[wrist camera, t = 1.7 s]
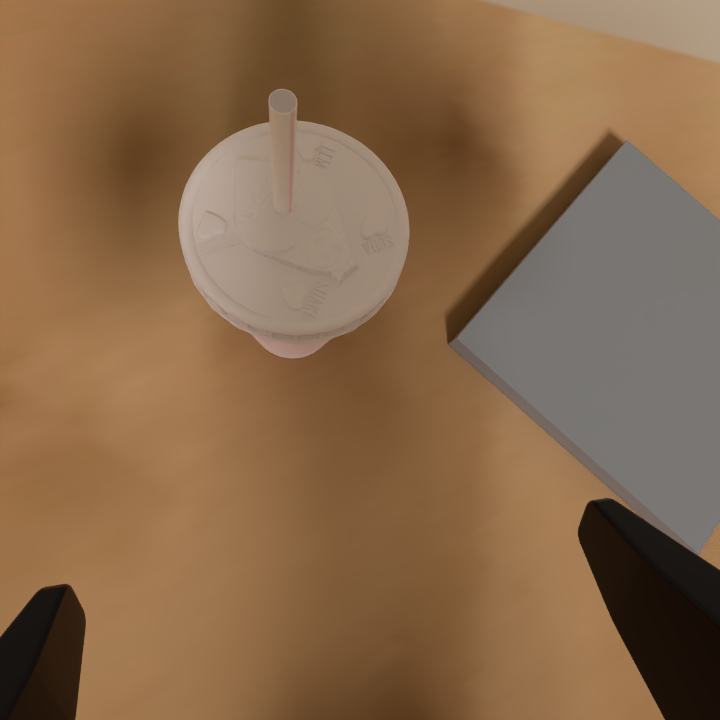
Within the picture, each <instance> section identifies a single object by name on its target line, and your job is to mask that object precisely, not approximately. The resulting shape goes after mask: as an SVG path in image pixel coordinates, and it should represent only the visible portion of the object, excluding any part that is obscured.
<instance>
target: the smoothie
mask: <svg viewBox="0 0 720 720" xmlns="http://www.w3.org/2000/svg"><path fill="white" fill-rule="evenodd" d="M268 101H269V122H266V123H262V124H257V125H254V126H251V127H248V128H245V129H243V130H241V131H238V132H236V133H234V134H233V135H231V136H229V137H227V138H226V139H224V140H223V141H221V142H220V143H218V144H217V145H216V146H215V147H214V148H212V149H211V150H210V151H209V152H208V153H207V154H206V155H205V156H204V157H203V158H202V160H201V161H200V162H199V164H198V165H197V166H196V168H195V169H194V171H193V172H192V174H191V176H190V178H189V180H188V182H187V184H186V186H185V189H184V192H183V195H182V199H181V203H180V209H179V224H178V227H179V238H180V243H181V248H182V251H183V254H184V259H185V262H186V264H187V267H188V270H189V272H190V275H191V278H192V280H193V283H194V285H195V286H196V288H197V289H198V290H199V292H200V293H201V295H202V296H203V297H204V299H205V300H206V301H207V303H208V304H209V305H210V307H211V308H212V309H213V310H214V311H216V312H217V313H218V314H220V315H221V316H222V317H223V318H225V319H226V320H227V321H228V322H230V323H231V324H232V325H233V326H235V327H236V328H238V329H241V330H243V331H245V332H248V333H250V334H251V335H252V336H253V337H254V338H255V339H256V340H257V341H258V342H259V343H260V344H261V345H262V346H263V347H264V348H265V349H266V350H267V351H269V352H271V353H272V354H274V355H277V356H279V357H283V358H291V359H293V358H302V357H306V356H308V355H311V354H313V353H314V352H316V351H317V350H319V349H320V348H321V347H322V346H323V345H325V344H326V343H327V342H328V341H329V340H330V339H333V338H335V337H338V336H341V335H343V334H346V333H349V332H352V331H353V330H355V329H356V328H357V327H359V326H360V325H362V324H363V323H364V322H366V321H367V320H369V319H370V318H371V317H373V316H374V315H375V314H376V313H377V312H378V311H379V309H380V308H381V307H382V306H383V304H384V303H385V302H386V301H387V299H388V298H389V297H390V296H391V294H392V293H393V291H394V288H395V286H396V284H397V281H398V279H399V277H400V274H401V272H402V269H403V266H404V263H405V260H406V256H407V252H408V246H409V234H410V228H409V217H408V212H407V207H406V204H405V200H404V197H403V195H402V192H401V190H400V188H399V186H398V184H397V182H396V180H395V178H394V177H393V175H392V174H391V172H390V171H389V170H388V168H387V167H386V166H385V164H384V163H383V162H382V161H381V160H380V159H379V158H378V157H377V156H376V155H375V154H374V153H373V152H372V151H371V150H370V149H369V148H367V147H366V146H365V145H363V144H362V143H361V142H359V141H357V140H356V139H354V138H353V137H351V136H349V135H347V134H345V133H343V132H341V131H339V130H336V129H334V128H331V127H328V126H325V125H321V124H317V123H312V122H306V121H297V98H296V96H295V95H294V94H293V93H292V92H291V91H289V90H286V89H277V90H275V91H273V92H272V93H271V94H270V96H269V100H268Z"/></svg>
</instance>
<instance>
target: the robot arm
mask: <svg viewBox="0 0 720 720" xmlns="http://www.w3.org/2000/svg"><path fill="white" fill-rule="evenodd" d="M578 537H579V541H580V544H581V546H582V549H583V551H584V554H585V556H586V558H587V561H588V563H589V566H590V568H591V570H592V573H593V575H594V578H595V580H596V583H597V585H598V587H599V590H600V592H601V595H602V597H603V600H604V602H605V604H606V607H607V609H608V611H609V614H610V616H611V618H612V620H613V622H614V624H615V626H616V628H617V630H618V632H619V634H620V636H621V638H622V640H623V642H624V644H625V645H626V647H627V649H628V651H629V653H630V655H631V657H632V659H633V660H634V662H635V664H636V666H637V668H638V670H639V672H640V674H641V675H642V677H643V679H644V681H645V683H646V685H647V687H648V689H649V690H650V692H651V694H652V696H653V698H654V700H655V702H656V704H657V705H658V707H659V709H660V711H661V713H662V715H663V717H664V719H665V720H720V570H719V569H717V568H716V567H714V566H713V565H711V564H710V563H708V562H707V561H705V560H704V559H702V558H701V557H699V556H698V555H696V554H695V553H693V552H692V551H690V550H689V549H687V548H686V547H684V546H683V545H681V544H680V543H678V542H677V541H675V540H674V539H672V538H671V537H669V536H668V535H666V534H665V533H663V532H662V531H660V530H659V529H657V528H656V527H654V526H653V525H651V524H650V523H648V522H647V521H645V520H644V519H642V518H641V517H639V516H638V515H636V514H635V513H633V512H632V511H630V510H629V509H627V508H626V507H624V506H623V505H621V504H620V503H618V502H617V501H615V500H613V499H610V498H604V499H598V500H592V501H590V502H589V503H588V504H587V505H586V508H585V511H584V514H583V516H582V519H581V522H580V525H579V528H578ZM85 626H86V619H85V613H84V610H83V608H82V606H81V604H80V602H79V600H78V598H77V596H76V594H75V592H74V590H73V589H72V587H71V586H70V585H68V584H61V585H55V586H48V587H44V588H42V589H40V590H39V591H38V592H37V593H36V594H35V595H34V596H33V597H32V598H31V600H30V601H29V602H28V603H27V605H26V606H25V607H24V608H23V610H22V611H21V612H20V613H19V615H18V616H17V617H16V618H15V620H14V621H13V622H12V623H11V624H10V626H9V627H8V628H7V629H6V631H5V632H4V633H3V634H2V636H1V637H0V720H75V717H76V709H77V700H78V691H79V682H80V673H81V664H82V654H83V645H84V636H85Z"/></svg>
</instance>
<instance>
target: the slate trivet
mask: <svg viewBox="0 0 720 720" xmlns="http://www.w3.org/2000/svg"><path fill="white" fill-rule="evenodd" d="M449 345H450V346H451V347H452V348H453V349H454V350H455V351H456V352H458V353H459V354H460V355H461V356H462V357H463V358H464V359H465V360H467V361H468V362H469V363H470V364H471V365H472V366H473V367H474V368H475V369H477V370H478V371H479V372H480V373H481V374H482V375H483V376H484V377H486V378H487V379H488V380H489V381H490V382H491V383H492V384H493V385H495V386H496V387H497V388H498V389H499V390H500V391H501V392H502V393H504V394H505V395H506V396H507V397H508V398H509V399H510V400H511V401H512V402H514V403H515V404H516V405H517V406H518V407H519V408H520V409H521V410H523V411H524V412H525V413H526V414H527V415H528V416H529V417H530V418H532V419H533V420H534V421H535V422H536V423H537V424H538V425H539V426H541V427H542V428H543V429H544V430H545V431H546V432H547V433H548V434H549V435H551V436H552V437H553V438H554V439H555V440H556V441H557V442H558V443H560V444H561V445H562V446H563V447H564V448H565V449H566V450H567V451H569V452H570V453H571V454H572V455H573V456H574V457H575V458H576V459H578V460H579V461H580V462H581V463H582V464H583V465H584V466H585V467H586V468H588V469H589V470H590V471H591V472H592V473H593V474H594V475H595V476H597V477H598V478H599V479H600V480H601V481H602V482H603V483H604V484H606V485H607V486H608V487H609V488H610V489H611V490H612V491H613V492H615V493H616V494H617V495H618V496H619V497H620V498H621V499H622V500H624V501H625V502H626V503H627V504H628V505H629V506H630V507H631V508H632V509H634V510H635V511H636V512H637V513H638V514H639V515H640V516H641V517H643V518H644V519H645V520H646V521H647V522H648V523H650V524H651V525H653V526H654V527H656V528H657V529H659V530H660V531H662V532H663V533H665V534H666V535H668V536H669V537H671V538H672V539H674V540H675V541H677V542H678V543H680V544H681V545H683V546H684V547H686V548H687V549H689V550H690V551H692V552H693V553H695V554H700V552H701V551H702V549H703V547H704V546H705V544H706V543H707V541H708V539H709V538H710V536H711V535H712V533H713V531H714V530H715V528H716V527H717V525H718V523H719V522H720V220H719V219H718V218H717V217H715V216H714V215H713V214H712V213H711V212H710V211H709V210H707V209H706V208H705V207H704V206H703V205H702V204H700V203H699V202H698V201H697V200H696V199H695V198H694V197H692V196H691V195H690V194H689V193H688V192H687V191H685V190H684V189H683V188H682V187H681V186H680V185H679V184H677V183H676V182H675V181H674V180H673V179H672V178H670V177H669V176H668V175H667V174H666V173H665V172H663V171H662V170H661V169H660V168H659V167H658V166H657V165H655V164H654V163H653V162H652V161H651V160H650V159H648V158H647V157H646V156H645V155H644V154H643V153H642V152H640V151H639V150H638V149H637V148H636V147H635V146H633V145H632V144H631V143H630V142H629V141H628V140H627V141H626V142H625V143H624V144H623V145H622V146H621V147H620V148H619V149H618V150H617V151H615V152H614V153H613V154H612V156H611V157H610V158H609V159H608V160H607V161H606V163H605V164H604V165H603V166H602V167H601V168H600V169H599V171H598V172H597V173H596V174H595V175H594V176H593V178H592V179H591V180H590V181H589V182H588V183H587V184H586V186H585V187H584V188H583V189H582V190H581V191H580V193H579V194H578V195H577V196H576V197H575V198H574V199H573V201H572V202H571V203H570V204H569V205H568V206H567V208H566V209H565V210H564V211H563V212H562V213H561V214H560V216H559V217H558V218H557V219H556V220H555V221H554V223H553V224H552V225H551V226H550V227H549V228H548V229H547V231H546V232H545V233H544V234H543V235H542V236H541V238H540V239H539V240H538V241H537V242H536V243H535V245H534V246H533V247H532V248H531V249H530V250H529V251H528V253H527V254H526V255H525V256H524V257H523V258H522V260H521V261H520V262H519V263H518V264H517V265H516V266H515V268H514V269H513V270H512V271H511V272H510V273H509V275H508V276H507V277H506V278H505V279H504V280H503V281H502V283H501V284H500V285H499V286H498V287H497V288H496V290H495V291H494V292H493V293H492V294H491V295H490V296H489V298H488V299H487V300H486V301H485V302H484V303H483V305H482V306H481V307H480V308H479V309H478V310H477V311H476V313H475V314H474V315H473V316H472V317H471V318H470V320H469V321H468V322H467V323H466V324H465V325H464V327H463V328H462V329H461V330H460V331H459V332H458V333H457V335H456V336H455V337H454V338H453V339H452V340H451V342H450V343H449Z"/></svg>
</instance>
